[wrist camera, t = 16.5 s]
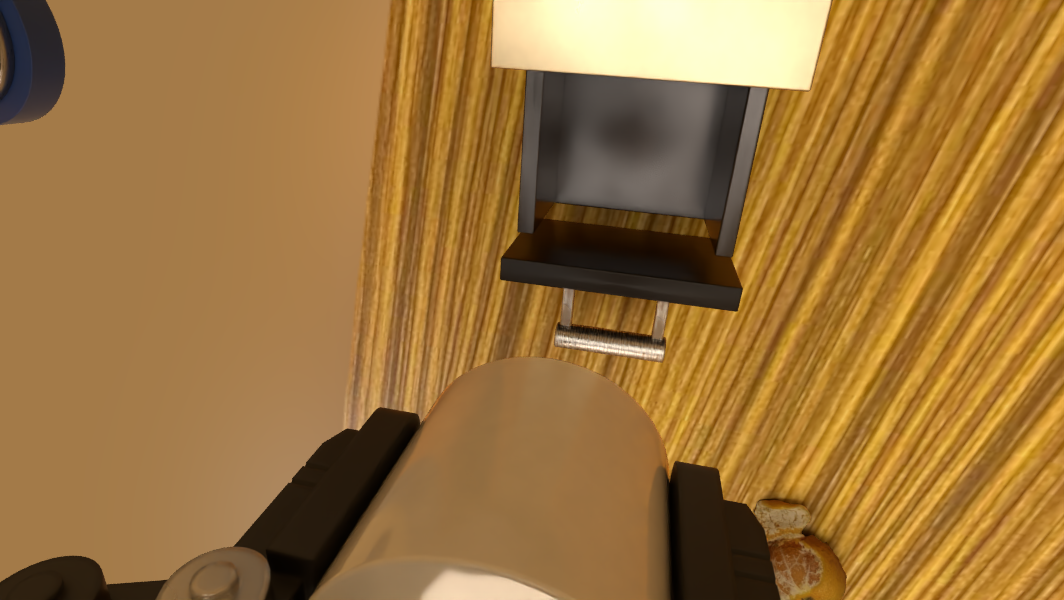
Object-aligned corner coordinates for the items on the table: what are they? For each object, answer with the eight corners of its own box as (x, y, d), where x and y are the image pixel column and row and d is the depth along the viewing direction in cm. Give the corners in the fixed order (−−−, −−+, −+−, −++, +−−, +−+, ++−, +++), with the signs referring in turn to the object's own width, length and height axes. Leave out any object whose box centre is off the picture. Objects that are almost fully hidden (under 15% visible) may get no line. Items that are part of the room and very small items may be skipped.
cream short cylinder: (425, 532, 12) (308, 772, 8) (423, 336, 10) (270, 520, 6) (648, 580, 12) (643, 869, 7) (690, 378, 10) (716, 617, 6)
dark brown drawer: (705, 330, 35) (718, 397, 28) (526, 305, 37) (496, 362, 30) (774, 1, 28) (814, -19, 21) (547, -12, 30) (513, -33, 23)
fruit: (780, 485, 40) (791, 524, 36) (872, 550, 40) (892, 595, 37) (700, 549, 43) (703, 589, 40) (786, 608, 44) (796, 653, 40)
